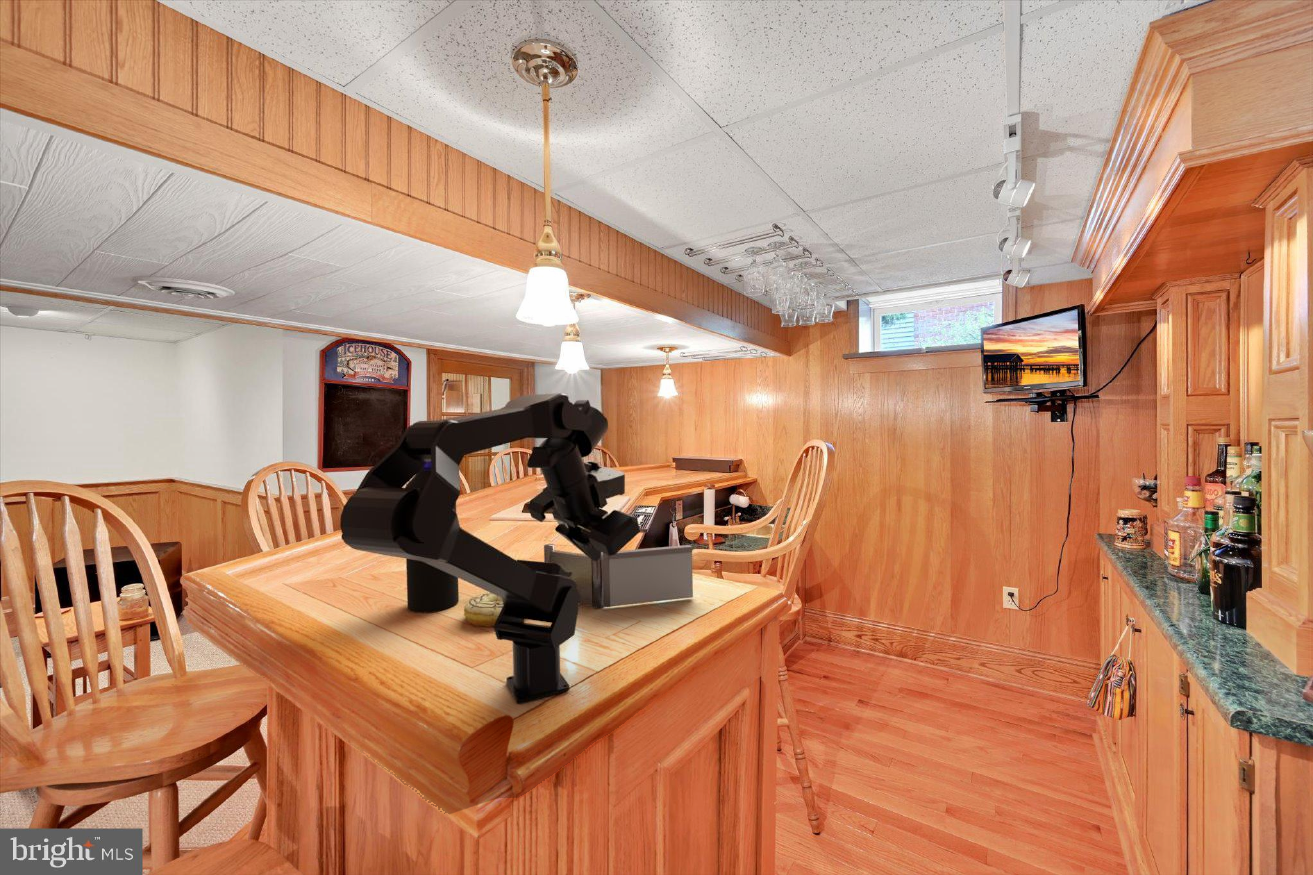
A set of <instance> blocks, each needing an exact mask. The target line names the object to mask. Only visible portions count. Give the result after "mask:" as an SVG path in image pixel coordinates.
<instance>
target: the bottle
mask: <svg viewBox="0 0 1313 875" xmlns="http://www.w3.org/2000/svg"><path fill="white" fill-rule="evenodd" d="M430 475H431V461H427V462H426V464H425V465H424V467H423V468H422V469H421V470H420V471H419V472H418V473H417V474H416V475H415V476H414V477H413V478H412V479H411V480H409V481H408V482H407V483H406V484H405V486H404V488H424V487H425V485H426V483H427V481H428V479H429V477H430ZM453 509H454V510H455V511H456V512H457V502H456V503H455V505H454V508H453ZM405 560H406V561H405V564H406V565H405V566H406V567H405V568H406V596H407V597H406V599H407V602H406V603H407V610H409V611H410V610H411V611H410V612H412V611H414V612H413V613H418V612H427V613H435V612H439V611H443V610H447V609H451V608H452V607H454V606H455V605H457V604H458V603H459V600H460V599H459V597H460V596H459V594H460V593H459V578H458V577H455V576H453V575H451V574H449V573H447V572H444V571H442V570H440V569H438V568H436V567H434V566H431V565H429V564H427V563H425V562H423V561H419V560H412V559H406V558H405ZM434 611H435V612H434Z"/></svg>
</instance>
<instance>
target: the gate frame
mask: <svg viewBox="0 0 1313 875" xmlns="http://www.w3.org/2000/svg"><path fill="white" fill-rule="evenodd" d="M543 562H549V563H556V564H558V565H559V566H561V568H562V569H563V570H564V571H567V572H572V575H571V576H570V578H572V579H573V580H574V581H575V582H576V585H577V589H578V591H579V596H580V600H579V605H582V606H587V607H591V608H593V609H596V610H597V609H603V608H605V607H604V601H603V558H602V552H601V557H600V559H599V560H598V561H596V562H595V561H593V560H591V559H590V558H589V557H588V556H587V555H585V554H584V553H578V552H577V553H576V552H571V551H565V550H564V551H563V550H557V549H556V550H555V544H554V543H547V544H543Z"/></svg>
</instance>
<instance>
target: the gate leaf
mask: <svg viewBox="0 0 1313 875" xmlns="http://www.w3.org/2000/svg"><path fill="white" fill-rule="evenodd" d="M602 558H603V601H604V608H610V607H619V606H628V605H637V604H645V603H654V602H656V603H657V602H663V601H665V602H666V601H672V600H680V599H681V600H682V599H690V598H691V599H692V598H694V590H693V589H694V588H693V587H694V586H693V583H694V581H693V546H692V545H690V544H686V545H675V546H674V545H673V546H672V545H671V546H663V547H651V548H649V547H648V548H638V549H637V548H636V549H625V550H620V551H618V552H617V553H616V554H615V555H611V556H608V555H606V554H604V553H602Z"/></svg>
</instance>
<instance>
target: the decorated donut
mask: <svg viewBox="0 0 1313 875" xmlns="http://www.w3.org/2000/svg"><path fill="white" fill-rule="evenodd" d="M463 607H464V608H463V616H464V617H465V619H466V620H467V621H468V622H469V623H470V624H472V625H473V626H479V627H486V628H489V627H494V624H495V622H496V620H497V618H498V616H499V614H500V612H501V610H502V607H503V602H502V598H501V597H499V596H497V595H495V594H492V593H490V592H485V593H481V594H478V595H476V596H473V597H472V598H469V599H468V600H467V601H466V603H465V605H464V606H463Z"/></svg>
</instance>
